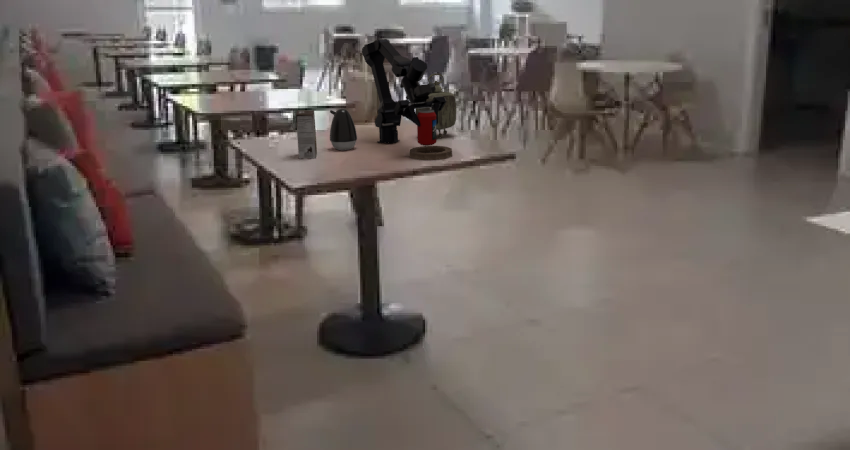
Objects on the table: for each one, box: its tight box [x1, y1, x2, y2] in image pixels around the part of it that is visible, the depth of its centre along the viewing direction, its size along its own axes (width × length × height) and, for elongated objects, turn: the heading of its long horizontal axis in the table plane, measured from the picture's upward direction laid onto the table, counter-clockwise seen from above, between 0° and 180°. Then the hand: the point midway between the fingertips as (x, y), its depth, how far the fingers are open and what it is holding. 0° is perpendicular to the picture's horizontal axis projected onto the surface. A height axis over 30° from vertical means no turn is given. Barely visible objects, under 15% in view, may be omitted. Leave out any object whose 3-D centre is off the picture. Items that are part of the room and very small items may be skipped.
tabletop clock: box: [415, 72, 457, 138], centre depth 323 cm, size 14×9×25 cm, turn 121°
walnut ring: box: [409, 145, 453, 161], centre depth 293 cm, size 15×15×2 cm
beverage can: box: [416, 109, 437, 146], centre depth 290 cm, size 7×7×12 cm
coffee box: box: [295, 109, 318, 160], centre depth 296 cm, size 9×6×16 cm
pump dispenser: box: [329, 108, 358, 151], centre depth 307 cm, size 10×10×15 cm
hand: (428, 124), depth 289 cm, fingers closed on beverage can, 7 cm apart
